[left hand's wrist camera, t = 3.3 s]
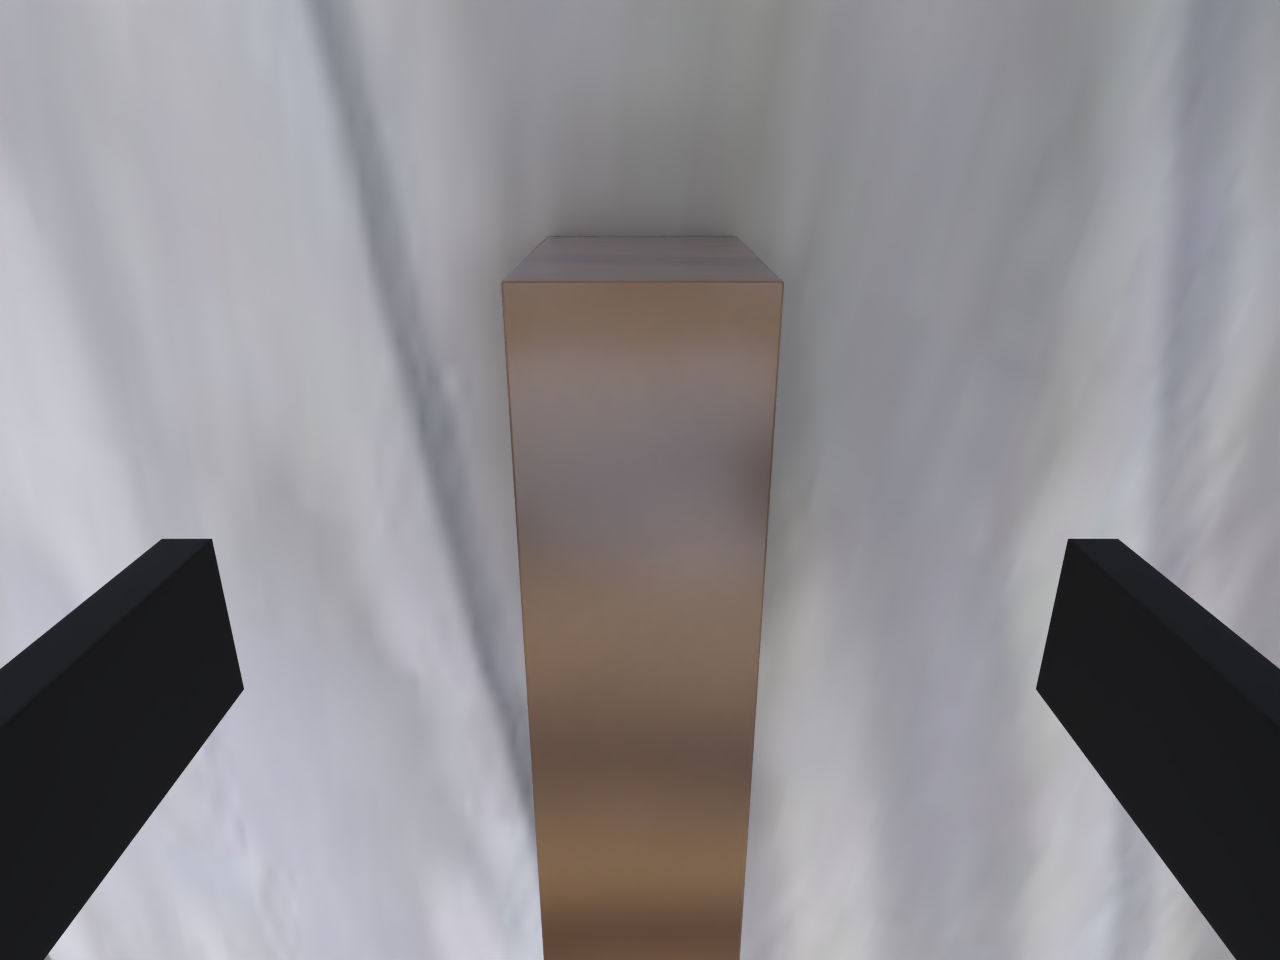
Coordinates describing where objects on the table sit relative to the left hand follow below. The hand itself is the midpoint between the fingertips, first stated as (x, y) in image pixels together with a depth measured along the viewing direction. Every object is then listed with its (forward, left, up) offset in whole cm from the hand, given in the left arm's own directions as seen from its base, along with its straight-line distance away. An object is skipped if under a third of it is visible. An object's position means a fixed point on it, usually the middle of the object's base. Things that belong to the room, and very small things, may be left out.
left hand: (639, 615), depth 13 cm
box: (+2, +8, -16) cm, 18 cm away
